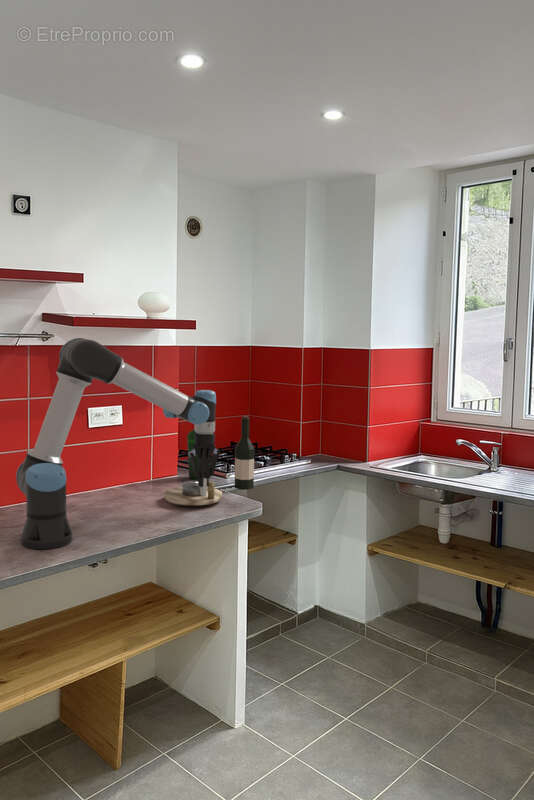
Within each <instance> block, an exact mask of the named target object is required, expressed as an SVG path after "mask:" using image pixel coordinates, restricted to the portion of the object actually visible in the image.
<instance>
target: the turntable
mask: <svg viewBox="0 0 534 800" xmlns="http://www.w3.org/2000/svg"><path fill="white" fill-rule="evenodd" d="M222 499H223V492H222V491H221V490H219V489H217V488H216V487H215V482H214V481H209V485H208V486H207V491H206V496H199V497H189V496H185V495H183V494H182V486H179V487H178V486H177V487H174V488H171V489H168V490H167V491H165V492H164V500H165V501H167V502H169V503H170V504H174V505H176V504H179V505H207V504H211V505H212V503H213V504H215V503H218V502H220V501H222ZM179 505H178V506H179Z"/></svg>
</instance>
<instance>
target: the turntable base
mask: <svg viewBox="0 0 534 800" xmlns="http://www.w3.org/2000/svg"><path fill="white" fill-rule="evenodd" d="M212 504H214V503H212ZM212 504H207V505H179V504H175V505H176V506H180V507H185V508H200V507H201V508H202V507H207V506H210V505H212Z"/></svg>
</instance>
